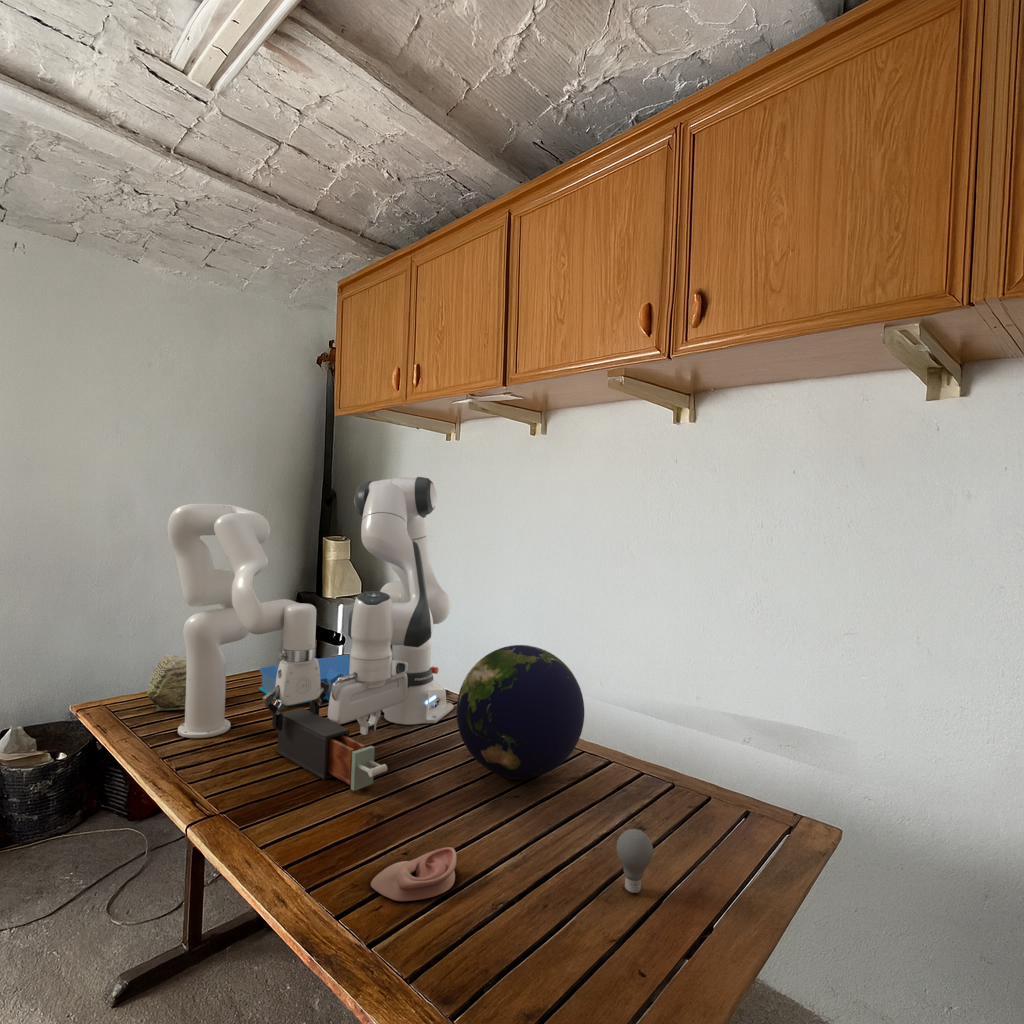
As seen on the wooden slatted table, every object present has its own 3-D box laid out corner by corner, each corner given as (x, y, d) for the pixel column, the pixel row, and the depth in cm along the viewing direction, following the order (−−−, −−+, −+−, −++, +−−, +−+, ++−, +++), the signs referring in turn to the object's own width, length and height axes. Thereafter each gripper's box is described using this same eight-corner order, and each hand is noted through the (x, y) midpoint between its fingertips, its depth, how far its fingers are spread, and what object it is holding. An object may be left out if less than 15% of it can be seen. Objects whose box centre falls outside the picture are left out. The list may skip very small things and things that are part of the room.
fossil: (144, 707, 182) (145, 655, 182) (212, 696, 194) (213, 647, 194) (151, 716, 175) (153, 662, 175) (221, 703, 188) (223, 653, 188)
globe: (430, 785, 141) (436, 651, 140) (486, 740, 168) (491, 628, 168) (558, 816, 130) (565, 670, 129) (595, 762, 157) (601, 642, 157)
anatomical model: (363, 870, 101) (391, 834, 112) (362, 895, 101) (390, 856, 113) (442, 884, 99) (463, 845, 110) (441, 909, 99) (462, 868, 110)
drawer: (388, 792, 135) (390, 754, 135) (369, 799, 132) (370, 761, 132) (323, 757, 152) (325, 723, 152) (304, 763, 148) (306, 728, 148)
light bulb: (610, 879, 108) (613, 822, 108) (644, 879, 109) (647, 822, 109) (619, 902, 102) (622, 840, 102) (655, 901, 103) (658, 840, 103)
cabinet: (347, 771, 146) (349, 729, 146) (324, 780, 142) (325, 736, 141) (300, 746, 160) (301, 707, 160) (277, 752, 155) (278, 712, 155)
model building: (289, 709, 186) (291, 675, 185) (258, 688, 204) (259, 657, 204) (403, 687, 212) (405, 657, 212) (366, 670, 230) (368, 643, 230)
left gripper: (273, 663, 146) (270, 737, 146) (338, 652, 159) (335, 720, 159) (257, 657, 151) (254, 728, 151) (321, 646, 164) (318, 712, 164)
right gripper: (343, 682, 125) (341, 751, 126) (413, 662, 143) (410, 723, 143) (322, 676, 129) (319, 743, 129) (392, 657, 146) (390, 717, 146)
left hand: (295, 724), depth 155 cm, fingers open, 9 cm apart
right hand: (368, 732), depth 136 cm, fingers closed
